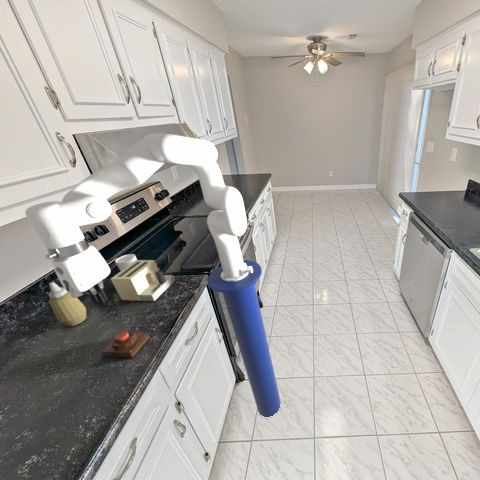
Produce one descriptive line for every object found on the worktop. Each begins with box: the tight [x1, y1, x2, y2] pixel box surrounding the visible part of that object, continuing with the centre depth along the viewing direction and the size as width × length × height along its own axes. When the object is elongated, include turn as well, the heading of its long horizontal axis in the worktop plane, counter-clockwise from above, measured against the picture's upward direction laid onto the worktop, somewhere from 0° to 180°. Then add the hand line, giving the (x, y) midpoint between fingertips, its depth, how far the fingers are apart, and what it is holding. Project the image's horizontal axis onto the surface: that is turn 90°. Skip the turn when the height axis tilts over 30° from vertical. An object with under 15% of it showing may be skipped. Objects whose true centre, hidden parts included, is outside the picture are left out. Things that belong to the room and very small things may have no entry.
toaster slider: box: [155, 270, 166, 284], centre depth 109 cm, size 3×3×5 cm
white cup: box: [114, 253, 138, 272], centre depth 120 cm, size 8×8×10 cm
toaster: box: [110, 259, 176, 302], centre depth 109 cm, size 15×14×11 cm
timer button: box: [113, 330, 130, 343], centre depth 82 cm, size 4×4×2 cm
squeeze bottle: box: [47, 281, 87, 327], centre depth 92 cm, size 8×8×18 cm
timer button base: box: [100, 329, 151, 358], centre depth 83 cm, size 10×8×4 cm
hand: (101, 301), depth 75 cm, fingers closed
